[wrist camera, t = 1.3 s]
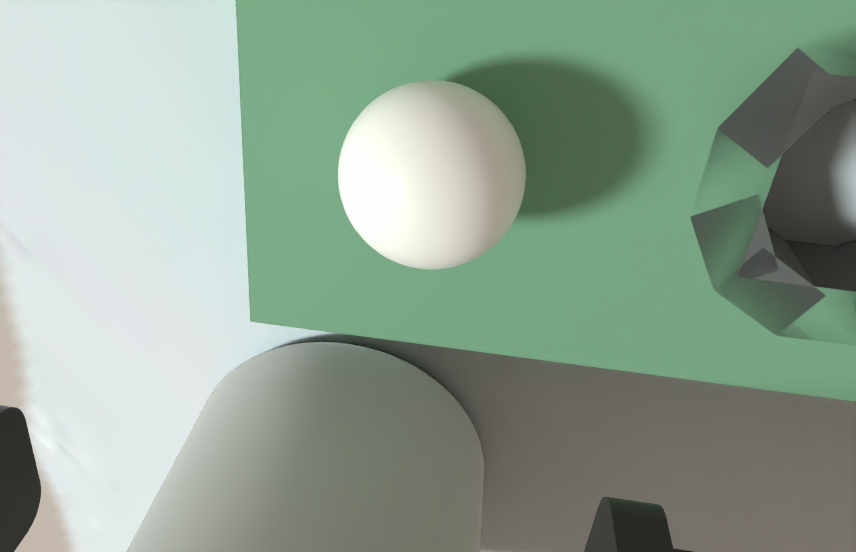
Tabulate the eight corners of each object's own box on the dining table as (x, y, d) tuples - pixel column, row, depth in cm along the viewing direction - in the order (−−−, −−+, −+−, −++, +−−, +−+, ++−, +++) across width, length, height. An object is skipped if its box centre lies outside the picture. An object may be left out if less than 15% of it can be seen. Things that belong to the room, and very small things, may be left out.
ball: (360, 47, 21) (320, 105, 17) (538, 68, 21) (543, 132, 16) (353, 206, 24) (317, 292, 19) (511, 226, 23) (510, 317, 19)
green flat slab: (262, -175, 21) (227, -174, 18) (1181, -77, 20) (1278, -62, 17) (273, 277, 29) (250, 321, 26) (932, 362, 28) (974, 417, 25)
